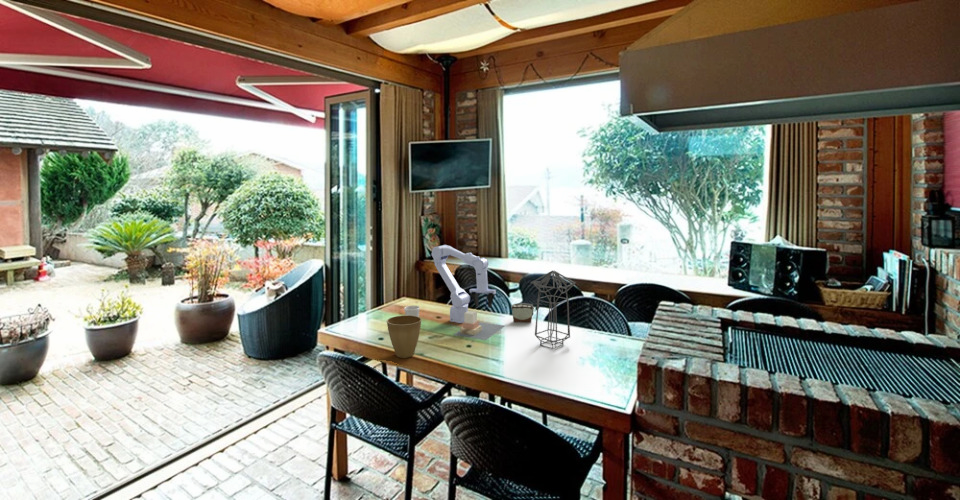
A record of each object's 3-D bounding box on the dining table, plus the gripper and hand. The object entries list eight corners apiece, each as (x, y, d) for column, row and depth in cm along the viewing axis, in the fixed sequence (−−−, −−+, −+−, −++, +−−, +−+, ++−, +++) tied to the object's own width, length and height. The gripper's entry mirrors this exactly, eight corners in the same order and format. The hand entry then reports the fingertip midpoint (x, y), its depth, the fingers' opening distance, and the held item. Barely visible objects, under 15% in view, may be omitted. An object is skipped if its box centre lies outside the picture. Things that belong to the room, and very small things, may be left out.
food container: (533, 320, 242) (533, 303, 241) (533, 324, 236) (534, 305, 235) (511, 320, 244) (511, 302, 242) (510, 323, 238) (510, 305, 236)
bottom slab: (460, 332, 220) (460, 328, 220) (467, 328, 228) (467, 323, 227) (474, 335, 217) (474, 330, 217) (481, 330, 224) (481, 325, 224)
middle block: (462, 327, 221) (462, 322, 220) (468, 324, 226) (468, 319, 226) (473, 329, 218) (473, 324, 218) (478, 325, 223) (478, 321, 223)
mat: (452, 336, 218) (452, 334, 218) (474, 322, 239) (474, 321, 239) (485, 341, 210) (485, 339, 210) (505, 327, 231) (505, 325, 231)
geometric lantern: (549, 337, 215) (550, 266, 210) (576, 345, 203) (578, 270, 199) (527, 345, 205) (528, 270, 200) (554, 354, 193) (555, 275, 188)
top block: (464, 322, 221) (464, 313, 220) (468, 320, 225) (468, 310, 224) (472, 323, 219) (472, 314, 218) (476, 321, 223) (476, 311, 222)
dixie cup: (421, 323, 239) (421, 305, 238) (418, 328, 231) (417, 309, 229) (406, 323, 240) (406, 305, 238) (402, 328, 232) (402, 309, 230)
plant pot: (421, 360, 187) (420, 324, 185) (385, 362, 186) (384, 325, 184) (423, 348, 202) (422, 314, 200) (390, 349, 201) (389, 315, 199)
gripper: (466, 282, 231) (467, 307, 232) (491, 283, 224) (492, 309, 226) (472, 279, 237) (474, 304, 238) (497, 280, 230) (498, 306, 232)
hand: (483, 306), depth 232 cm, fingers open, 7 cm apart
